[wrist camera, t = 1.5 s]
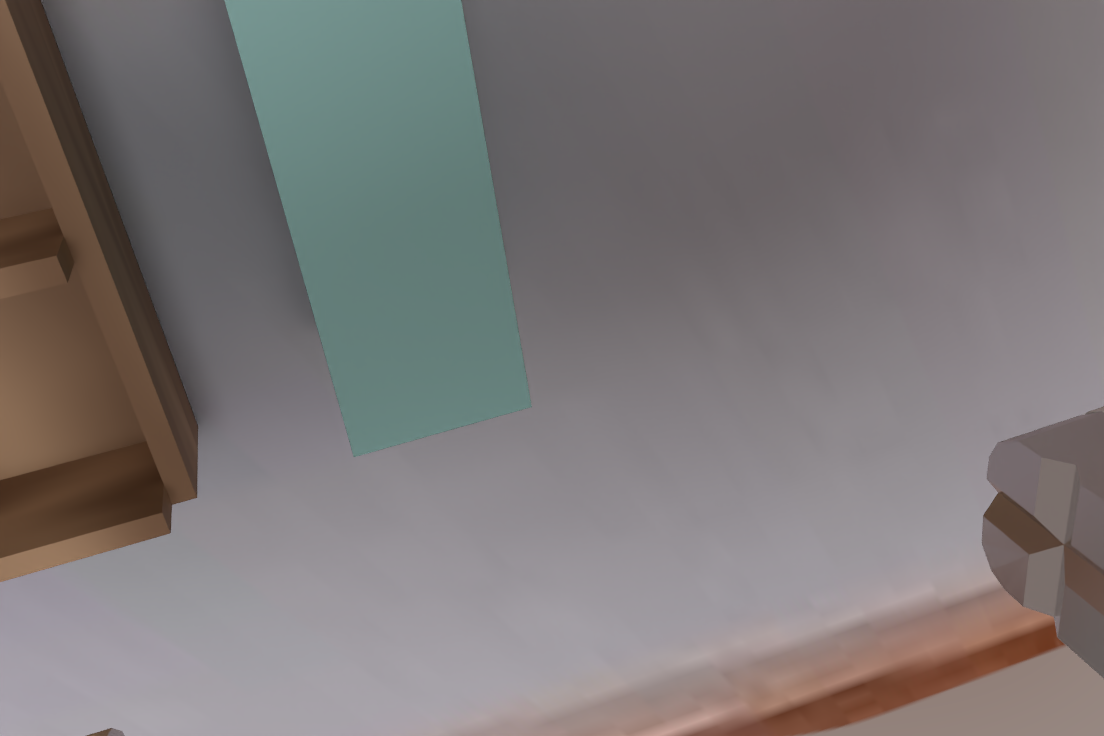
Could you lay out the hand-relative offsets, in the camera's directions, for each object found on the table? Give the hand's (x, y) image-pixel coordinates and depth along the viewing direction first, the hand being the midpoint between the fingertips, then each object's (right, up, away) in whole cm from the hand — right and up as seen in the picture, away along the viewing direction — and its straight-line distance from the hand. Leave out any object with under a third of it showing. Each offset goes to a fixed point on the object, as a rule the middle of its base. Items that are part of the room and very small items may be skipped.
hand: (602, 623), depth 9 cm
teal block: (-6, +8, +16) cm, 19 cm away
